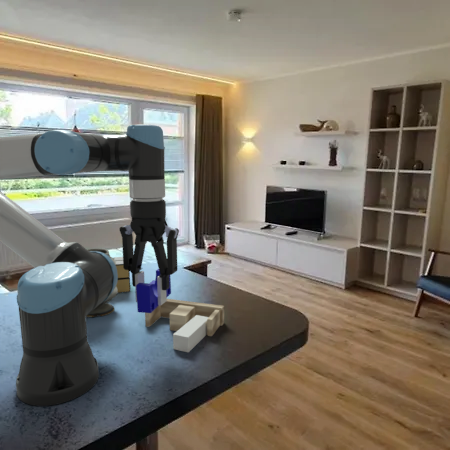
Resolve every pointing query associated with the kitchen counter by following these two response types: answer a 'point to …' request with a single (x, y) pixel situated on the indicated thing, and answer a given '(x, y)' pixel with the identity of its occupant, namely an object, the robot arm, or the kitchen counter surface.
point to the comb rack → (187, 314)
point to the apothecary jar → (105, 307)
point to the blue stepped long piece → (149, 295)
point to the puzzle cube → (122, 276)
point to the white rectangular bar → (190, 334)
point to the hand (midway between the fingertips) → (151, 301)
